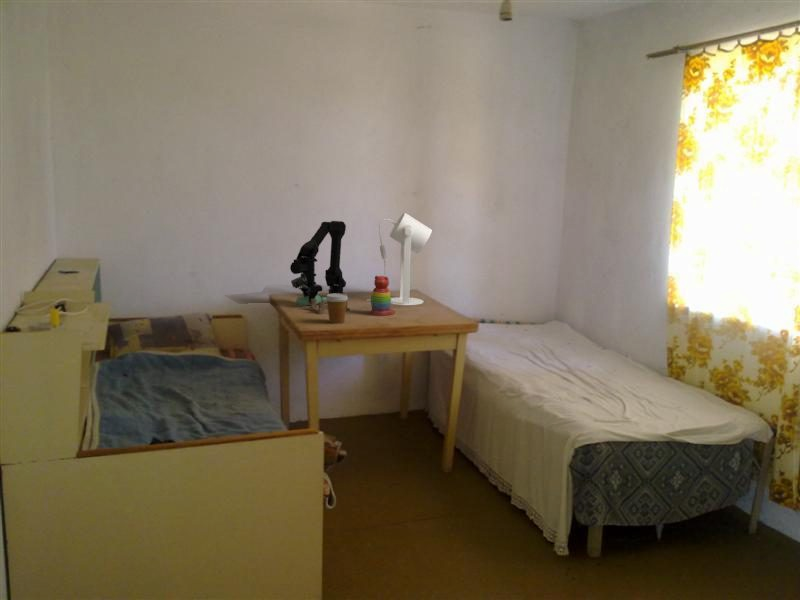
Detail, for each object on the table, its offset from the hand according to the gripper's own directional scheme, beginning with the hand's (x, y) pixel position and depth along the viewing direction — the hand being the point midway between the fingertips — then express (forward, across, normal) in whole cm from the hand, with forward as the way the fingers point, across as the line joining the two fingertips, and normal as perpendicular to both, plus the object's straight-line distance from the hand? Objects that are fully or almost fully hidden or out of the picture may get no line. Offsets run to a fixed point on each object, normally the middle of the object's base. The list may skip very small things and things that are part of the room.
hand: (308, 303), depth 318 cm
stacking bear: (+1, +32, +22) cm, 39 cm away
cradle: (+1, +14, +4) cm, 15 cm away
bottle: (+1, 0, +3) cm, 3 cm away
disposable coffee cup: (+1, +38, -4) cm, 38 cm away
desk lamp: (+1, +12, +44) cm, 46 cm away
